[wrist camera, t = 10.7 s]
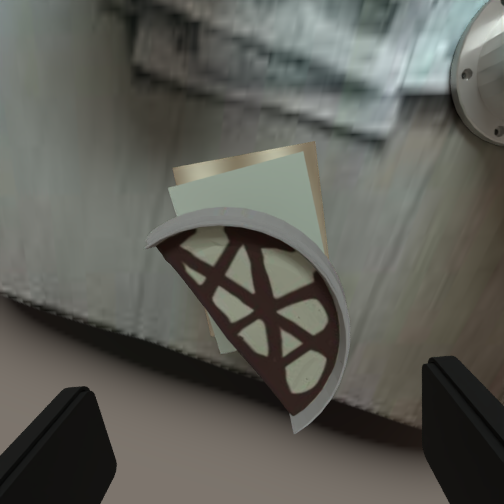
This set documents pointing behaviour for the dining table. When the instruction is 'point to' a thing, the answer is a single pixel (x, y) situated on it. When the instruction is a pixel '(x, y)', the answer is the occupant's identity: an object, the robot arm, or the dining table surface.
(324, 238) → the lower slab
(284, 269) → the food container
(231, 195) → the upper slab
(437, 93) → the dining table surface
